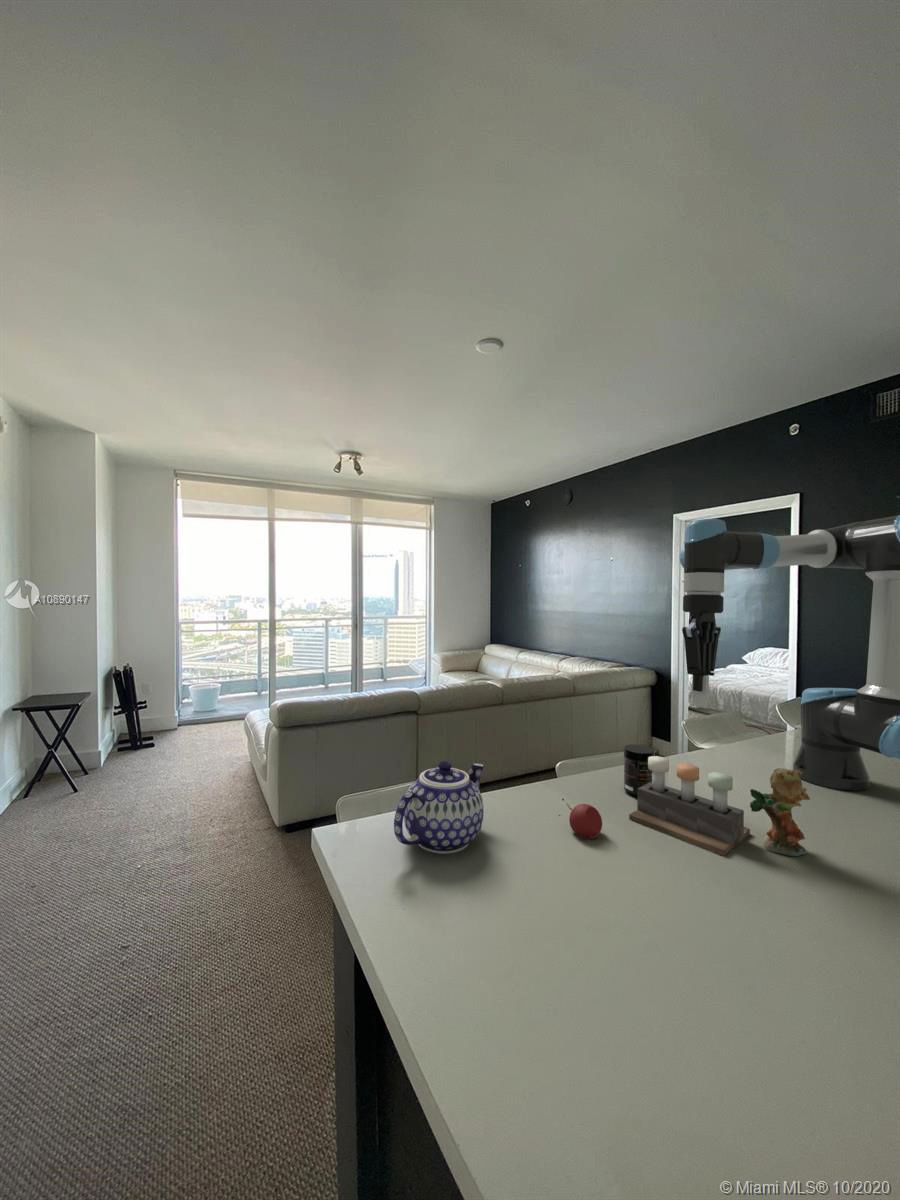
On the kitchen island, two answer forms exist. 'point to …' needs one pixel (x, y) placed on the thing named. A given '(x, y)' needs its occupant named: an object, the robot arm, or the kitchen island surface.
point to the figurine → (782, 811)
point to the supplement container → (636, 767)
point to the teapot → (442, 809)
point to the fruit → (585, 821)
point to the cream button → (658, 772)
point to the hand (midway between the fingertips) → (699, 706)
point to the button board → (690, 819)
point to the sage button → (720, 790)
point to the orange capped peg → (687, 781)
